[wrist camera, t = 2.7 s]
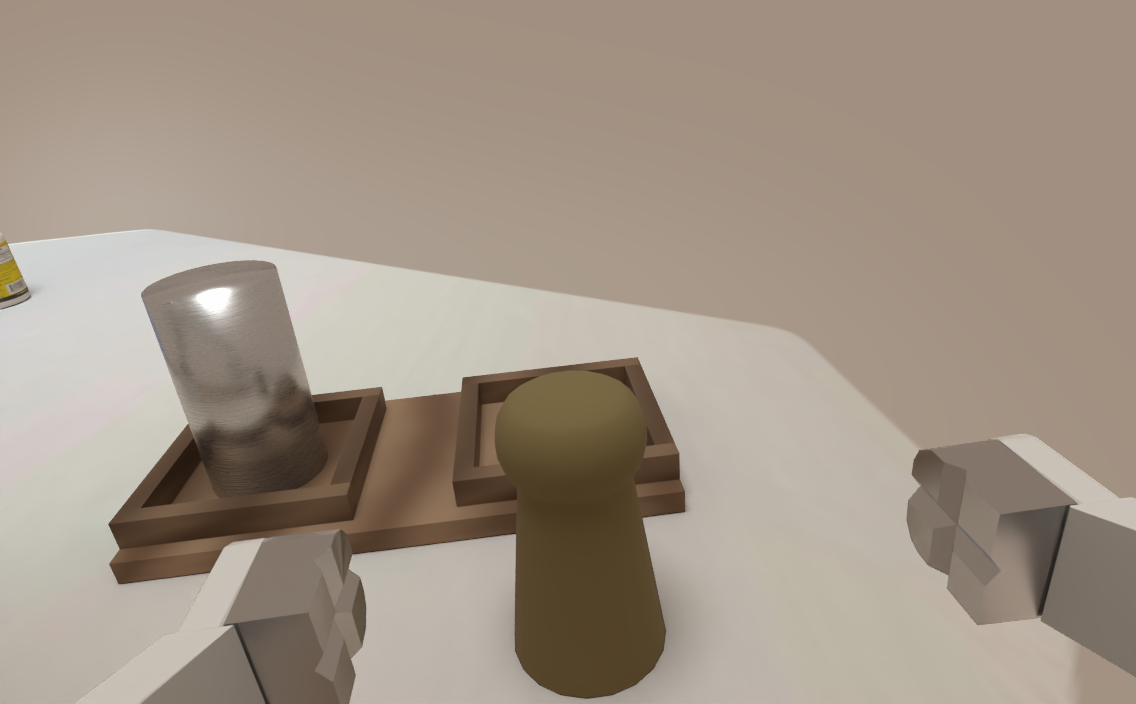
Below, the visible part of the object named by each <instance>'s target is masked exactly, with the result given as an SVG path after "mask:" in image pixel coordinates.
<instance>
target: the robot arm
mask: <svg viewBox="0 0 1136 704" xmlns="http://www.w3.org/2000/svg"><path fill="white" fill-rule="evenodd" d="M912 476H913V477H914V478H915V480H916V481H917V482H918V484H919V485H920V487H919V488H918V489H917V491H916V492H915V493H914V494H913V495H912V497H911V498H910V499H909V500H908V509H907V524H908V528H909V533H910V537H911V540H912V542H913V544H914V546H915V548H916V550H917V552H918V553H919V555H920V556H921V557H922V558H923V560H924V561H925V562H926V564H927V565H928V566H930V567H932V568H934V569H936V570H938V571H940V572H942V573H945V574H947V575H948V583H947V589H948V590H949V592H950V593H951V594H952V595H953V597H954V598H955V599H956V600H957V601H958V603H959V604H960V605H961V606H962V607H963V609H964V610H965V611H966V612H967V613H968V615H969V616H970V617H971V618H972V619H973V621H974V622H975V623H976V624H977V625H984V624H992V623H1001V622H1009V621H1018V620H1026V619H1034V618H1041V621H1042V622H1043V623H1045V624H1047V625H1048V626H1050V627H1052V628H1054V629H1055V630H1057V631H1059V632H1060V633H1062V634H1064V635H1065V636H1067V637H1069V638H1070V639H1072V640H1074V641H1076V642H1077V643H1079V644H1081V645H1082V646H1084V647H1086V648H1087V649H1089V650H1091V651H1092V652H1094V653H1096V654H1098V655H1099V656H1101V657H1103V658H1104V659H1106V660H1108V661H1109V662H1111V663H1113V664H1114V665H1116V666H1118V667H1120V668H1121V669H1123V670H1125V671H1126V672H1128V673H1130V674H1131V675H1133V676H1135V677H1136V499H1135V498H1132V497H1131V498H1123V499H1120V498H1118V497H1117V496H1116V495H1114V494H1113V493H1111V492H1110V491H1109V490H1107V489H1106V488H1105V487H1103V486H1102V485H1101V484H1099V483H1098V482H1096V481H1095V480H1094V479H1092V478H1091V477H1090V476H1088V475H1087V474H1086V473H1084V472H1083V471H1081V470H1080V469H1079V468H1077V467H1076V466H1075V465H1073V464H1072V463H1070V462H1069V461H1068V460H1066V459H1065V458H1064V457H1062V456H1061V455H1060V454H1058V453H1057V452H1055V451H1054V450H1053V449H1051V448H1050V447H1049V446H1047V445H1046V444H1044V443H1043V442H1042V441H1040V440H1039V439H1038V438H1036V437H1034V436H1030V435H1027V434H1024V433H1022V434H1016V435H1010V436H1005V437H998V438H993V439H988V440H987V441H981V442H974V443H966V444H960V445H952V446H946V447H938V448H931V449H925V450H919V452H918V454H917V455H916V457H915V459H914V463H913V469H912ZM352 553H353V552H352V549H351V546H350V543H349V540H348V537H347V534H346V533H345V532H344V531H342V530H341V529H336V530H328V531H319V532H310V533H302V534H293V535H284V536H276V537H269V538H260V539H253V540H245V541H238V542H232V543H231V544H229V545H227V546H226V547H224V549H223V550H222V552H221V554H220V556H219V558H218V559H217V561H216V563H215V565H214V567H213V568H212V570H211V572H210V574H209V576H208V577H207V579H206V581H205V583H204V585H203V587H202V588H201V590H200V592H199V594H198V596H197V597H196V599H195V601H194V603H193V605H192V607H191V608H190V610H189V612H188V614H187V616H186V617H185V619H184V621H183V623H182V625H181V627H180V628H179V630H178V632H177V633H172V634H166V635H164V636H163V637H161V638H160V639H159V640H157V641H156V642H155V643H153V644H152V645H151V646H149V647H148V648H147V649H145V650H144V651H143V652H141V653H140V654H139V655H137V656H136V657H135V658H134V659H132V660H131V661H130V662H128V663H127V664H126V665H124V666H123V667H122V668H120V669H119V670H118V671H116V672H115V673H114V674H112V675H111V676H110V677H108V678H107V679H106V680H104V681H103V682H102V683H101V684H99V685H98V686H97V687H95V688H94V689H93V690H91V691H90V692H89V693H87V694H86V695H85V696H83V697H82V698H81V699H79V700H78V701H77V702H75V703H74V704H349V701H350V697H351V693H352V689H353V684H354V680H355V676H356V674H355V671H354V668H353V665H352V661H351V658H352V657H353V656H354V655H355V654H356V653H357V652H358V651H359V650H360V649H361V648H362V645H363V640H364V635H365V630H366V603H365V595H364V590H363V586H362V583H361V579H360V577H359V576H358V575H356V574H355V573H353V572H352V571H351V570H349V569H348V568H349V564H350V560H351V557H352Z"/></svg>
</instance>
